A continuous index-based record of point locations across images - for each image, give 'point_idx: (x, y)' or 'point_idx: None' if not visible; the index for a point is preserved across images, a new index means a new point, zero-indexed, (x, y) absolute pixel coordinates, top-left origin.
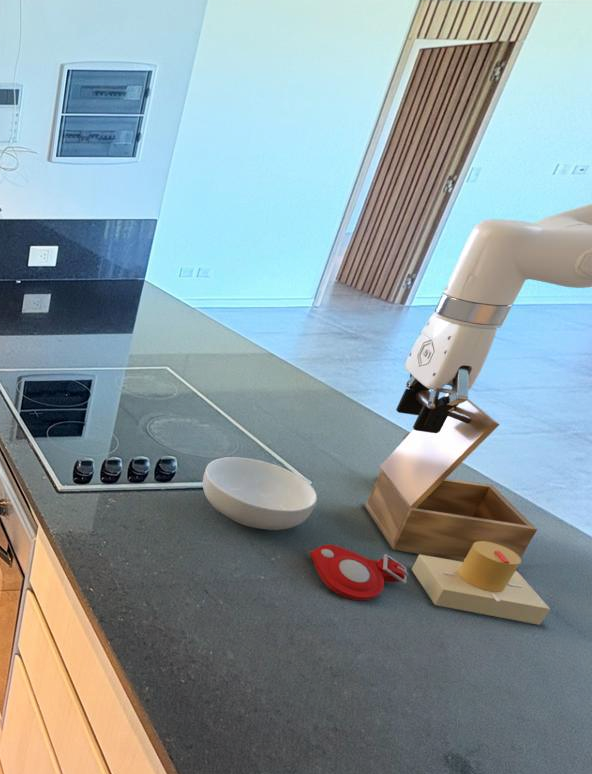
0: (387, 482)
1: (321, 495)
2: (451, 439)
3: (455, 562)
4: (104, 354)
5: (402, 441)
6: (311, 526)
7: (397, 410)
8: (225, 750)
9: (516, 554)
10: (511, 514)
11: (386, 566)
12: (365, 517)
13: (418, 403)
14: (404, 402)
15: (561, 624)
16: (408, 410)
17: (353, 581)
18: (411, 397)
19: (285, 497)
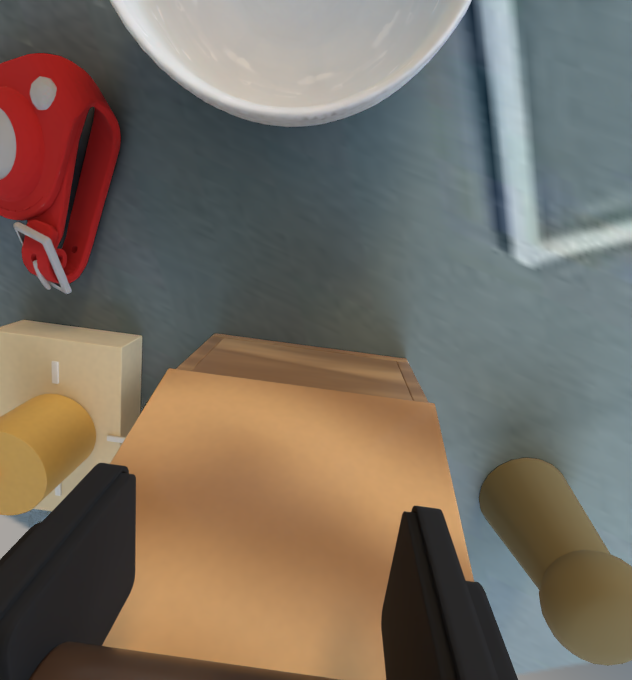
0: (360, 392)
1: (451, 264)
2: (171, 628)
3: (112, 413)
4: None
5: (620, 561)
6: (276, 165)
7: (416, 507)
8: None
9: (7, 513)
10: None
11: (17, 229)
12: (351, 335)
13: (401, 675)
14: (415, 584)
15: (47, 515)
16: (395, 572)
17: None
18: (420, 669)
19: (351, 90)
